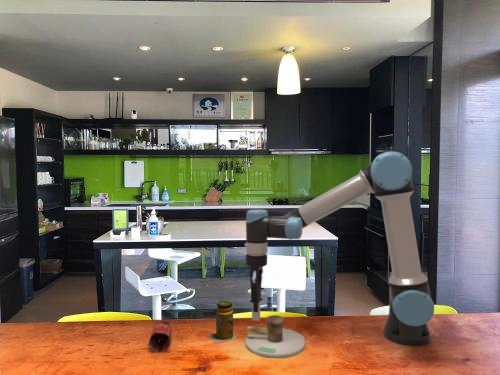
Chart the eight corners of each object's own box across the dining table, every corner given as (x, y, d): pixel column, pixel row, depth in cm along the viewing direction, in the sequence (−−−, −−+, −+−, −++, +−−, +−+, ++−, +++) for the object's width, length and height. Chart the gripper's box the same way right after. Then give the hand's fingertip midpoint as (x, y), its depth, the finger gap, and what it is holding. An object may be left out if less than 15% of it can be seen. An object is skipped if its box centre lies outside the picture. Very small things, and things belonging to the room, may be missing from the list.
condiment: (238, 337, 138) (237, 304, 138) (216, 343, 134) (216, 308, 133) (227, 330, 144) (227, 298, 144) (206, 336, 140) (206, 302, 139)
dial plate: (305, 333, 141) (305, 329, 141) (304, 360, 121) (304, 354, 121) (250, 330, 144) (250, 325, 144) (240, 355, 125) (240, 350, 125)
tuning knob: (284, 335, 135) (284, 315, 135) (283, 343, 129) (283, 322, 129) (248, 333, 137) (248, 313, 137) (245, 340, 131) (245, 320, 131)
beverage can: (173, 336, 139) (172, 318, 139) (170, 352, 128) (170, 332, 127) (152, 338, 138) (152, 319, 138) (148, 353, 127) (147, 333, 126)
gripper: (249, 249, 145) (248, 312, 146) (242, 257, 132) (242, 326, 133) (269, 250, 144) (268, 313, 145) (264, 258, 131) (264, 327, 132)
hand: (256, 319), depth 139 cm, fingers closed
